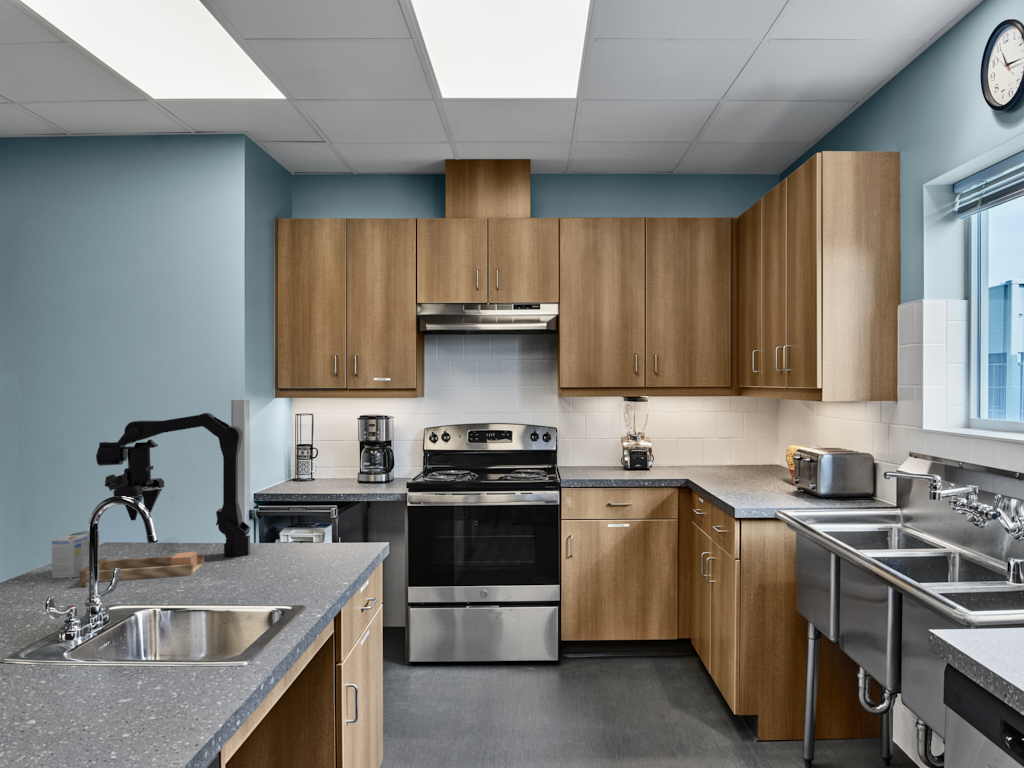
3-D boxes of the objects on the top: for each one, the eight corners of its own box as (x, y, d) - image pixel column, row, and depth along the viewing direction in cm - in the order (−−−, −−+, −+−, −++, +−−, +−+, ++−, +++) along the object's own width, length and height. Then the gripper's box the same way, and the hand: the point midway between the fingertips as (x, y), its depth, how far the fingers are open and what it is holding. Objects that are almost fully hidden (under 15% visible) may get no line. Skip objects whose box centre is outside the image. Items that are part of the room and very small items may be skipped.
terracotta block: (197, 565, 182) (196, 551, 182) (191, 571, 176) (190, 557, 176) (177, 567, 181) (177, 552, 181) (171, 573, 175) (171, 558, 175)
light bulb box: (78, 567, 186) (77, 530, 186) (101, 567, 186) (100, 530, 186) (50, 578, 176) (50, 539, 176) (74, 578, 175) (74, 538, 176)
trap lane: (204, 565, 185) (203, 551, 186) (191, 578, 173) (191, 563, 173) (100, 573, 180) (100, 558, 180) (79, 586, 167) (79, 571, 167)
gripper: (125, 461, 196) (127, 512, 196) (92, 468, 177) (94, 525, 177) (164, 459, 197) (165, 510, 197) (135, 467, 178) (136, 523, 178)
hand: (140, 517), depth 187 cm, fingers open, 9 cm apart
